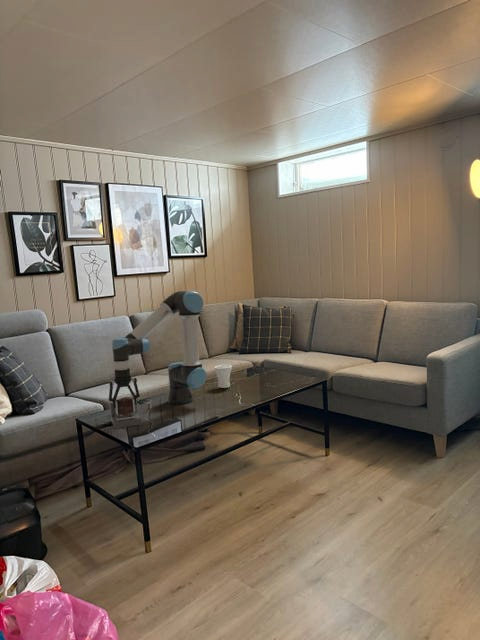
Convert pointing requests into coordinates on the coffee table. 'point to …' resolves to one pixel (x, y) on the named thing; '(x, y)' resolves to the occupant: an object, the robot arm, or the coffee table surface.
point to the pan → (125, 416)
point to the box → (125, 406)
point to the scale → (123, 422)
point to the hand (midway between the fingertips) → (125, 412)
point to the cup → (223, 375)
